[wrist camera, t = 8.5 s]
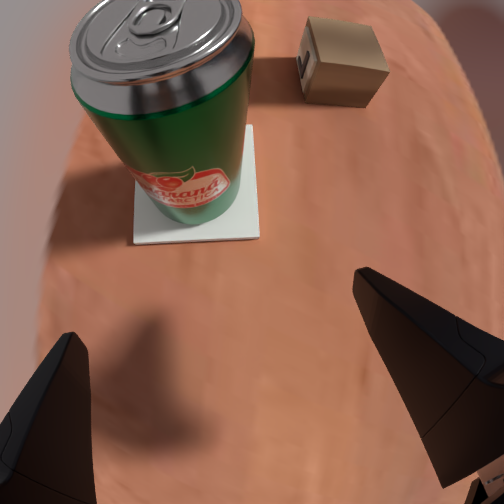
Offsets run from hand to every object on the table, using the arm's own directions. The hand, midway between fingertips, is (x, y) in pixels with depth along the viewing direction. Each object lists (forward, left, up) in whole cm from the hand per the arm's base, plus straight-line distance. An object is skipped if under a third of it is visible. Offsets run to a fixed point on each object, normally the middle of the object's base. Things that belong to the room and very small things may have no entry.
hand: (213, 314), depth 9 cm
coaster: (+7, +1, -8) cm, 11 cm away
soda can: (+7, +1, -8) cm, 10 cm away
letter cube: (+15, -8, -8) cm, 19 cm away
